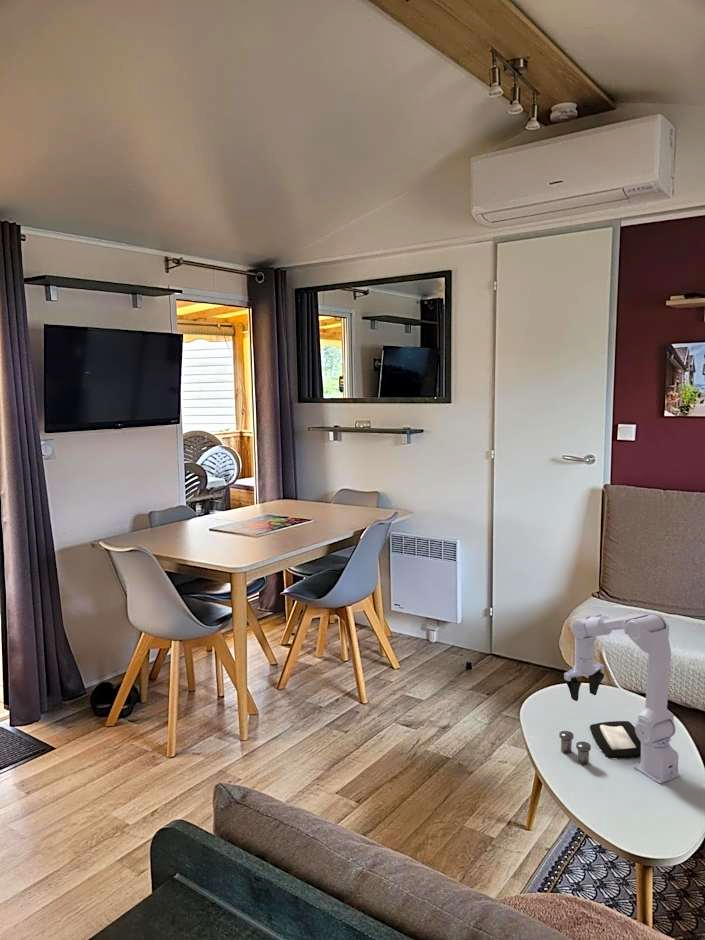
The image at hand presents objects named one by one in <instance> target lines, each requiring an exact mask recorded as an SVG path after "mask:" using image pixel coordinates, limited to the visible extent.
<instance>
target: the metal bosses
mask: <svg viewBox="0 0 705 940" xmlns="http://www.w3.org/2000/svg"><path fill="white" fill-rule="evenodd" d="M558 734H559V738H560V751H561V753H562V754H565V755H569V754H571V753H572V749H573V747H572V746H573V745H572V744H573V743H572V742H573V741H572V740H574V733H573V732H571V731H570V730H562V731H560V732H559V733H558ZM575 745H576V746H575V747H576V749H577V763H578V765H580V764H581V766H584V765H585V766H588V765H589V764H590V763H589V762H590V761H589V760H590V751H591V750H592V747H591V746H592V745H591V744H590V743H589V742H586V741H577V742H576V744H575ZM588 763H589V764H588ZM587 764H588V765H587Z"/></svg>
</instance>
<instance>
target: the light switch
mask: <svg viewBox="0 0 705 940" xmlns="http://www.w3.org/2000/svg"><path fill="white" fill-rule="evenodd" d="M589 729H590V733H591V736H592V738H593V740H594V739H595V740H594V741H596V742H595V743H596V745H597V746H599V747H598V748H599V749H601V750H602V751H601V750H600V751H601V753H602V754H603V753H604V754H605V755H604V754H603V755H604V756H605V758H607V757H608V759H612V758H617V759H616V760H630V759H635V758H636V759H637V758H641V741H640V740H639V738H638V737H637V735H636V732H635V725H633V724H632V723H631V721H629V720H616V721H615V720H613V721H604V722H597V723H593V724H590V726H589Z"/></svg>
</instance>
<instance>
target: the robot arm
mask: <svg viewBox="0 0 705 940" xmlns="http://www.w3.org/2000/svg"><path fill="white" fill-rule="evenodd" d="M614 630H615V631H616V630H617V631H618V630H623V631H624V634H625V635H627V636H628V637H629V639H630V640H631V641H632V642H633V643H634V644H635V645H636V646H637V647H638V648H639V649H640V650H641V651H642V652H644V653H646V654H647V655H648V664H647V679H646V693H645V707H644V708H643V710H642V711H640V713H639V714H638V717H637V722H636V723H635V724H634V727H635V732H636V735H637V737H638V738H639V740H640V741H641V757H640V762H638V763H636V764H634V765H633V764H632V766H633V768H634V769H636V770H638V771H639V772H641V773H642V774H644V775H645V776H647V777H648V778H650V779H652V780H653V781H656V782H657V783H658V784H662V783H665V782H667V781H670V780H672V779H676V778H678V777H679V776H681V774H680V772H679V754H678V751H676V749H674V748H673V747H672V745H671V744H670V742H671V741H672V737H673V736H674V735H675V734H676V729H677V727H676V724H675V721H674V713H673V712H671V711H670V710H669V709H668V702H669V701H668V698H669V687H670V685H669V684H670V672H671V659H672V649H671V645H670V641H669V640H670V639H669V637H670V636H669V635H670V626H669V624H668V622H667V621H666V620H665V619H664V617H663V616H661V615H660V614H658V613H651V614H650V613H641V614H640V613H639V614H630V615H625V616H620V617H615V618H610V617H609V616H607V615H602V613H598V614H595V615H594V616H592V617H591V616H590V615H588V616H585V617H583V618H580V619H575V620H573V621H572V622H571V624H570V632H571V634H572V635H573V637H574V665H573V666H572V667H573V668H571V669H570V670H568V671H566V672H564V673H563V680H564V681H565V683H566V684H567V687H568V690H569V694H570V698H571V700H573V701H574V702H578V701H579V697H580V696H579V694H580V693H579V692H580V687H581V685H582V682H581V681H579V680H578V679H577V678H579V677H586V676H587V678H588V684H589V685H588V686H589V688H588V689H589V693H590V695H592V696H597V693H598V690H599V687H600V684H601V682H602V681H603V679H604V678H605V674H604V673H603V672H604V671H605V669H604V668H605V665H604V664H602V663H600V662H599V663H598V662H597V663H595V641H596V640H597V637H600V636H608V635H610V634H611V633H613V631H614Z"/></svg>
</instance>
